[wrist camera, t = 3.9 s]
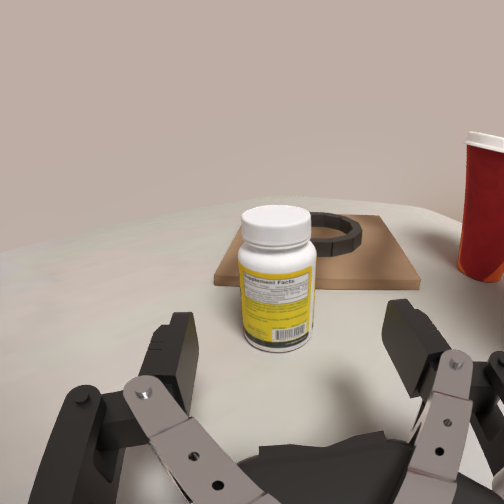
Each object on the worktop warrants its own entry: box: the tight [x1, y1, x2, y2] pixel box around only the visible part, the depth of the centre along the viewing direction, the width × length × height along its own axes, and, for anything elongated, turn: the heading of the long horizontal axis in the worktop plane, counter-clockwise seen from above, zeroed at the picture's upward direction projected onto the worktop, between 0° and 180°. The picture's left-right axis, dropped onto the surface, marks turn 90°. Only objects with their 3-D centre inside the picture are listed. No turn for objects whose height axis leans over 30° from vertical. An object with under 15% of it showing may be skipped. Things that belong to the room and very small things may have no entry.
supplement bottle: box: [238, 205, 317, 352], centre depth 20 cm, size 5×5×8 cm
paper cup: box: [458, 131, 504, 282], centre depth 24 cm, size 8×8×14 cm
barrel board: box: [214, 212, 421, 290], centre depth 34 cm, size 18×18×2 cm
